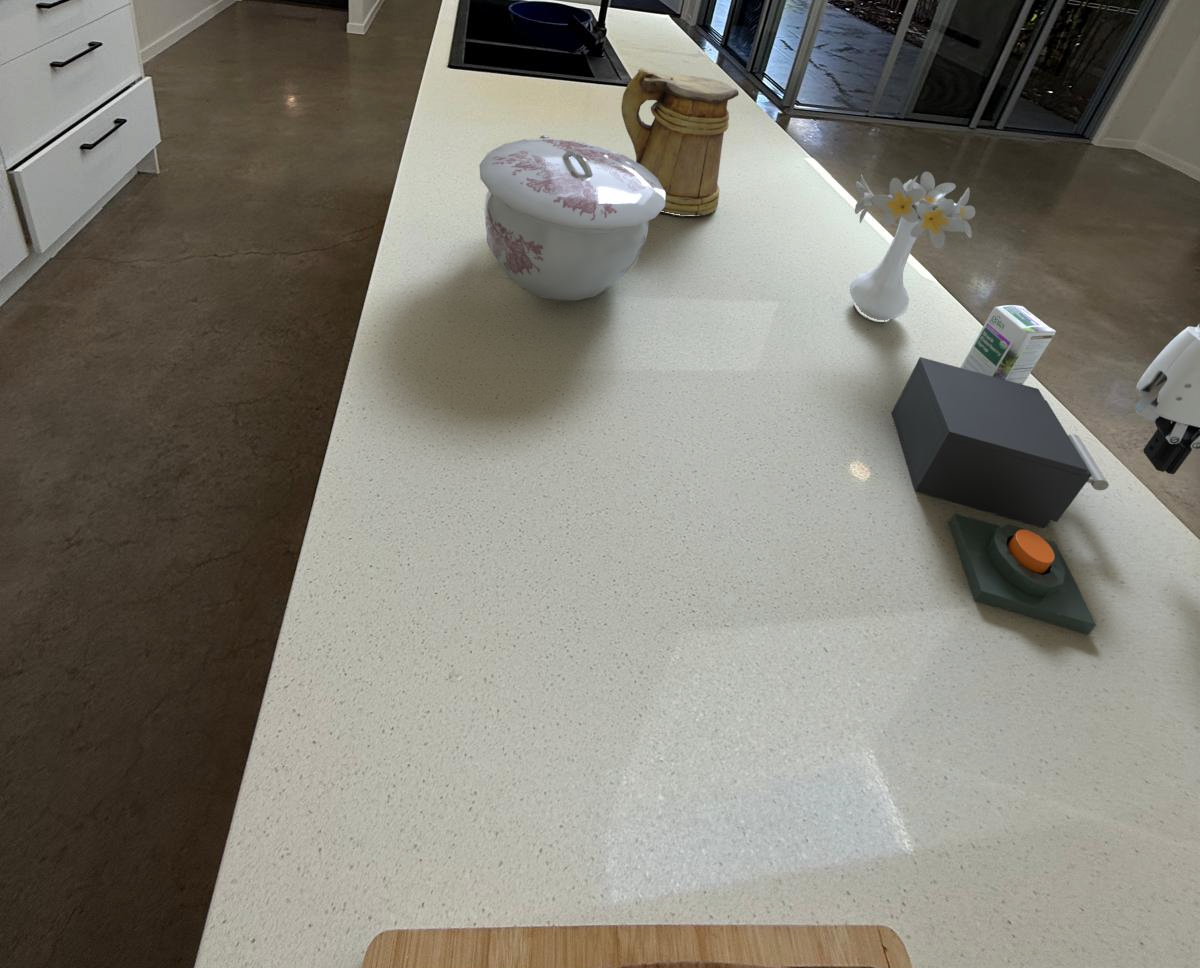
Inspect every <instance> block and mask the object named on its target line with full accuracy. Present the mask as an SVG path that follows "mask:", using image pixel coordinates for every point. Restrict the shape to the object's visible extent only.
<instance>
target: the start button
mask: <svg viewBox="0 0 1200 968" xmlns="http://www.w3.org/2000/svg"><path fill="white" fill-rule="evenodd" d="M1044 539H1045V538H1043V537H1042V536H1040V535H1039V534H1037V533H1036V532H1033V531H1031V530H1028V529H1025V530H1018V531H1017V532H1016V534H1015V535H1014V536H1013V538H1012V539H1011V541H1010V542H1009V545H1008V547H1009V551H1010V553H1011V555H1012V556H1013V557H1014V558H1015V559H1016V560H1017V561H1018V562H1019V564H1021V565H1022V566H1024V567H1025V568H1027V569H1028V570H1030V571H1031V572H1034V573H1044V572H1045V571H1046V570H1047V569H1048V567H1049V566H1050V565H1051V564H1052V562H1053V561H1054V558H1055V556H1054V552H1053V550H1052V548H1051V547H1050V546H1049V544H1048V543H1047V542H1046V541H1045V540H1044Z"/></svg>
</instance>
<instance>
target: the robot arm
mask: <svg viewBox="0 0 1200 968" xmlns="http://www.w3.org/2000/svg"><path fill="white" fill-rule="evenodd" d="M1135 388H1136V390H1137V391H1138V392H1139V393H1140V394H1142V395H1143V396H1142V397H1141V398H1140V399H1139V400H1138V401H1136V403H1134V404H1133V409H1134V410H1135V411H1136V413H1137V414H1138V415H1139V416H1140V417H1141V418H1143V419H1145V420H1147V421H1149V422H1151V423H1153V424H1154V427H1156V430H1155V432H1154V433H1153V435H1152V436H1151V438H1150V439H1149V440H1148V442H1147V443H1146V444H1145V446H1144V448H1143V454H1144V455H1145V457H1146V458H1147V459H1148V461H1149V462H1150V463H1151V464H1152V466H1153V467H1154V469H1155V470H1156V471H1157V472H1162V473H1164V472H1166V474H1169V475H1175V474H1176V473H1177V471H1178V470H1179V469H1180V467H1181V466H1182V464H1184V462H1185V461H1186V459H1187V458H1188V456H1189V455H1190V454H1191V452H1192V451H1193V450H1195V451H1199V450H1200V322H1199V323H1198V325H1197V326H1187V327H1185V329H1183V330H1182V331H1181V332H1179V333H1178V334H1177V335H1176V336H1174V338H1173V339H1172V340H1171V341H1169V343H1168V344H1166V346H1165V347H1164V348H1163V349H1162V350H1161V351H1160V353H1158V355H1157V356H1156V357H1155V359H1154V360H1153V361H1152V362H1151V363H1150V364H1149V365H1148V367H1147V369H1146V370H1145V371H1144V372H1143V374H1142V376H1141V377H1140V378H1139V380H1138V382H1137V384H1136V387H1135Z"/></svg>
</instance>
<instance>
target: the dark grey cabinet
mask: <svg viewBox="0 0 1200 968" xmlns="http://www.w3.org/2000/svg"><path fill="white" fill-rule="evenodd" d="M1045 400H1046V399H1045V397H1044V395H1043V394H1042V392H1041V391H1040V390H1039V388H1036V387H1033V386H1029V385H1026V384H1023V385H1022V384H1018V383H1015V382H1011V381H1007V380H1004V379H1000V378H996V377H992V376H989V375H985V374H981V373H978V372H974V371H970V370H966V369H963V368H960V367H959V366H955V365H951V364H948V363H944V362H940V361H936V360H933V359H929V358H926V357H923V356H920V357H919V358H918V360H917V363H916V364H915V366H914V368H913V370H912V371H911V374H910V376H909V378H908V380H907V381H906V383H905V384H904V387H903V389H902V391H901V393H900V395H899V397H898V399H897V400H896V403H895V404H894V406H893V408H892V410H891V412H890V413H891V417H892V421H893V423H894V427H895V430H896V434H897V437H898V440H899V444H900V446H901V450H902V453H903V458H904V460H905V464H906V467H907V470H908V474H909V477H910V480H911V483H912V486H913V490H914V492H915V493H918V494H921V495H925V496H929V497H932V498H936V499H940V500H943V501H945V502H950V503H953V504H957V505H959V506H963V507H966V508H970V509H974V510H977V511H981V512H984V513H988V514H992V515H995V516H998V517H1002V518H1005V519H1008V520H1013V521H1014V522H1015V521H1016V522H1020V523H1023V524H1026V525H1030V526H1033V527H1036V528H1040V529H1046V528H1047V527H1048V525H1049V524H1050V523H1051V520H1052V518H1053V517H1054V516H1055V514H1056V513H1057V511H1058V510H1059V509H1060V507H1061V506H1062V505H1063V503H1064V502H1065V501H1066V499H1067V498H1068V496H1069V495H1070V494H1071V492H1072V491H1073V490H1074V488H1075V487H1076V485H1077V484H1078V483H1079V481H1080V480H1081V479H1082V477H1083V476H1084V475H1085V473H1086V472H1087V471H1088V470H1087V468H1086V466H1085V465H1084V463H1083V461H1082V460H1081V458H1080V457H1079V455H1078V453H1077V452H1076V450H1075V448H1074V447H1073V445H1072V443H1071V442H1070V440H1069V438H1068V437H1067V435H1068V434H1067V435H1066V434H1065V432H1066V431H1065V432H1064V430H1065V429H1064V430H1063V429H1062V427H1063V426H1062V427H1061V425H1062V424H1061V425H1060V424H1059V422H1060V421H1059V422H1058V420H1059V419H1058V418H1057V419H1058V420H1057V419H1056V417H1057V416H1056V417H1055V415H1056V414H1055V413H1054V414H1055V415H1054V414H1053V412H1054V411H1053V412H1052V410H1053V409H1052V408H1051V409H1052V410H1051V409H1050V407H1051V406H1050V407H1049V406H1048V404H1049V403H1048V404H1047V402H1048V401H1047V400H1046V401H1047V402H1046V401H1045Z"/></svg>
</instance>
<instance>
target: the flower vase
mask: <svg viewBox="0 0 1200 968" xmlns="http://www.w3.org/2000/svg"><path fill="white" fill-rule="evenodd" d="M918 177H919V175H916V176H915V177H914V178H913V179H912V178H911V179H909V180H908V181H906V182H904V183H902V180H900V179H899V178H898V177H893V178H892V179H891V180H890V182H889V186H888V187H889V190H888V191H889V194H888V195H886V194H876V195H875V194H874V193H873V192H872V191H871V189H870V187H869V186H868V184H867V182H866V180H865V177H864V176H863V174H862V173H861V174H860V182H859V181H857V180H856V181H855V190H856V193H857V195H858V196H859V197H860V199H859V200H857V202H856V204H855V207H854V214H855V215H858V214H859V213H860V215H859V224H861V223H862V222H863V219H865V216H866V214H867V213H868V211H869V209H870V208H871V207H872V205H873V206H875V207H878V208H880V209H885V212H884V213H883V215H882V217H881V225H882V227H886V228H887V227H890V226H892V225H893V224H894V223H895V222H896V221H897V220H899V222H898V226H897V230H896V232H895V235H894V237H893V239H892V241H891V243H890V245H889V247H888V249H887V251H886V253H885V255H884V256H883V258H882V260H881V261H880V262H879V263H878V264H877V265H876V266H875V267H874V268H873V269H871V270H868V271H864V272H861V273H859V274H858V275H856V276H854V278H853V280H852V281H851V282H850V283H849V294H850V297H851V299H852V301H853V303H854V302H855V303H856V305H857V306H858V307H859V309H860V310H861V312H863V313H864V314H866V315H867V316H869V317H871V318H874V319H877V320H884V321H885V320H888V319H891V320H892V319H896V318H899V317H901V316H903V315H904V314H906V313H907V311H908V310H909V307H910V297H909V293H908V290H907V289H906V287H905V285H904V271H905V267H906V264H907V261H908V259H909V256H910V254H911V252H912V249H913V247H914V245H915V242H916V240H917V239H918V238H921V237H924V236H925V235H927V234H929V238H930V241H931V243H932V246H933V247H934V248H936V249H938V250H941V249H943V248H944V247H945V243H946V234H945V231H947V232H952V233H959V232H961V233H965V234H966V235H967V237H968V238H970V239H972V238H973V233H972V228H971V225H970V224H969V222H968V221H967V220H972V219H973V218H974V217H975V215H976V209H975V207H974V206H973V205H967V204H968V202H969V199H970V193H971V189H970V187H967V189H966V190H965V191H964V193H963V194H962V196H961V197H960V198H959V200H958V202H956V203H955V201H954V200H953V199H951V198H948V199H947V198H945V196H946V195H948V194H949V193H951V192H952V191H954V190H955V189H956V188H957V185H956V184H955V183H953V182H943V183H940V184H938V185H937V186H936V181H935V180H936V179H935V178H934V176H933V174H932V173H931V172H929V171H924V172H922V174H921V175H920V180H919V183H920V184H919V183H918V182H916V181H917V179H918ZM915 206H916V207H915ZM933 207H934V208H933ZM935 207H936V208H935ZM949 215H950V216H949Z"/></svg>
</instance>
